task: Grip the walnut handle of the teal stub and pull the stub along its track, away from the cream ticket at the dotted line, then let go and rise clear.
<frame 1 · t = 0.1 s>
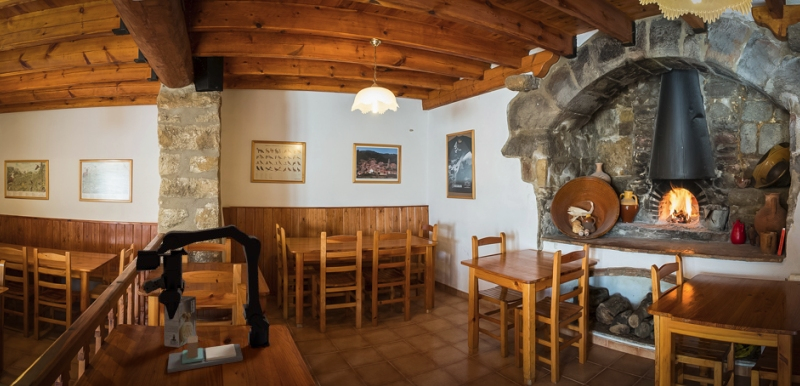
hand: (172, 314, 141), 14 cm above the table, tool pointing down, fingers open, 9 cm apart
stub: (192, 348, 139), point 4 cm above the table, slide at 0.0 cm
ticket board: (206, 359, 141), on the table
coffee box: (180, 342, 154), on the table
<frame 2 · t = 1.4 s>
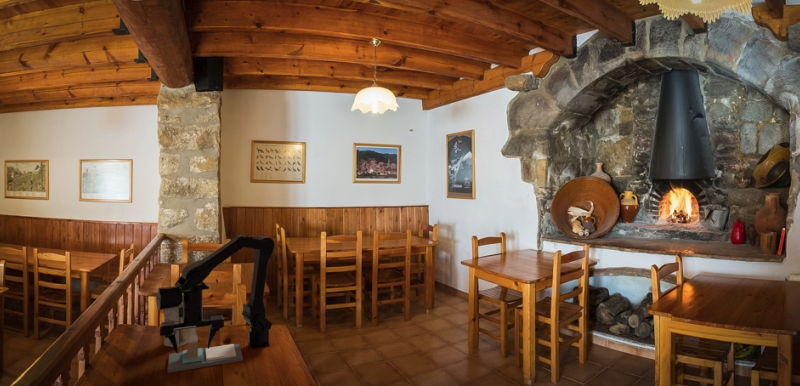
hand: (192, 350, 139), 4 cm above the table, tool pointing down, fingers open, 9 cm apart
nothing on the table moved.
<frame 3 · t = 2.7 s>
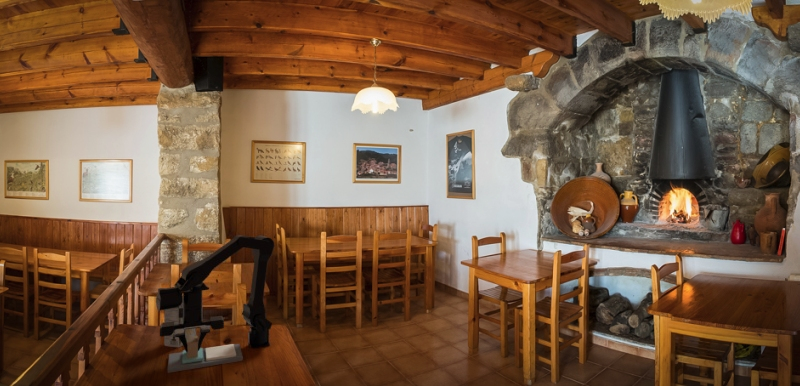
hand: (192, 351, 139), 3 cm above the table, tool pointing down, fingers closed on stub, 3 cm apart
stub: (192, 348, 139), point 4 cm above the table, slide at 0.0 cm, touching gripper
everything else where it was.
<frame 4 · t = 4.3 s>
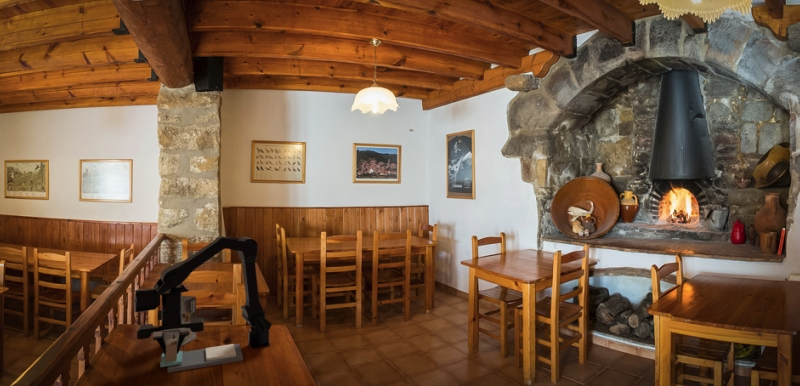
hand: (171, 354, 136), 3 cm above the table, tool pointing down, fingers closed on stub, 3 cm apart
stub: (171, 351, 136), point 4 cm above the table, slide at 6.1 cm, touching gripper
everything else where it was.
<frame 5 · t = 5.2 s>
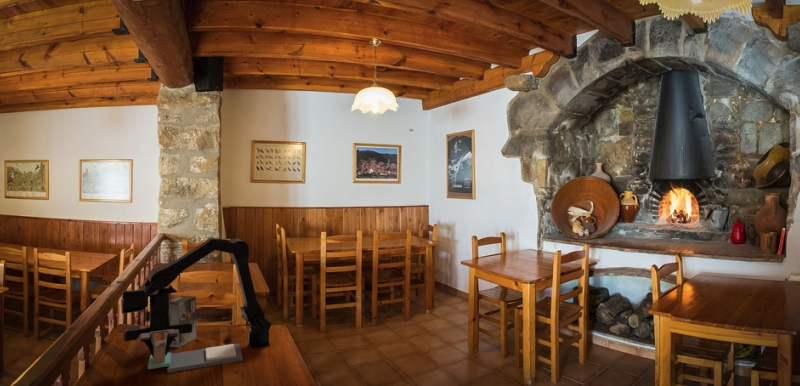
hand: (159, 355, 135), 3 cm above the table, tool pointing down, fingers closed on stub, 3 cm apart
stub: (159, 352, 135), point 4 cm above the table, slide at 9.4 cm, touching gripper
everything else where it was.
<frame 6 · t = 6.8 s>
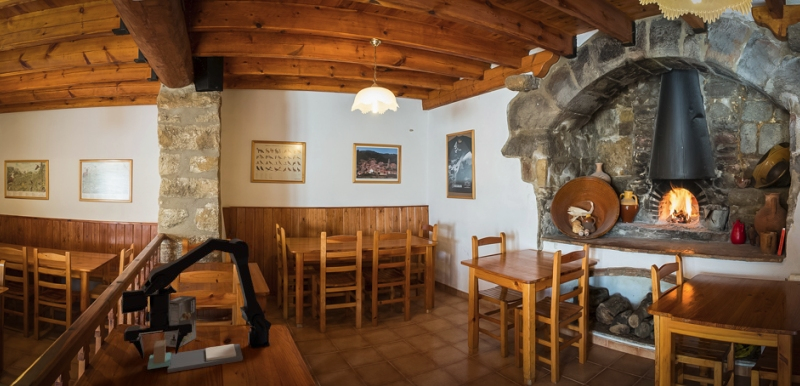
hand: (159, 356, 135), 3 cm above the table, tool pointing down, fingers open, 9 cm apart
stub: (159, 352, 135), point 4 cm above the table, slide at 9.5 cm
everything else where it was.
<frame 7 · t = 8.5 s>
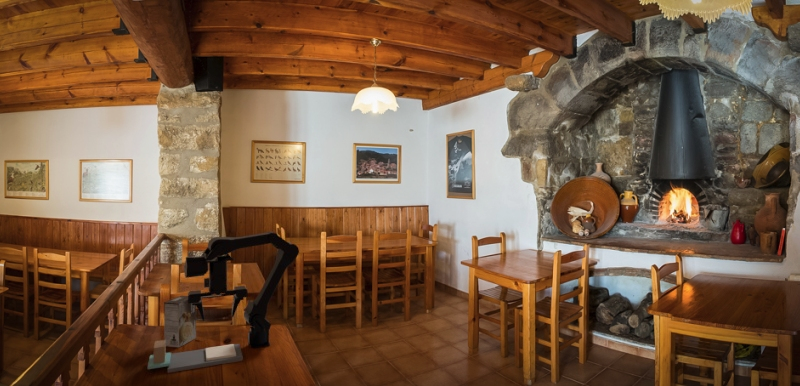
hand: (218, 318, 146), 12 cm above the table, tool pointing down, fingers open, 9 cm apart
nothing on the table moved.
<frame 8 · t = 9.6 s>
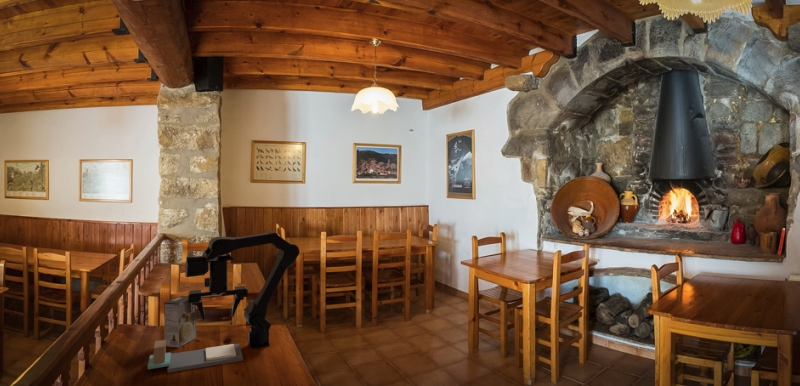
hand: (218, 318, 146), 12 cm above the table, tool pointing down, fingers open, 9 cm apart
nothing on the table moved.
at the end: stub slide at 9.5 cm; the gripper is holding nothing; coffee box moved 0.2 cm from its start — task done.
